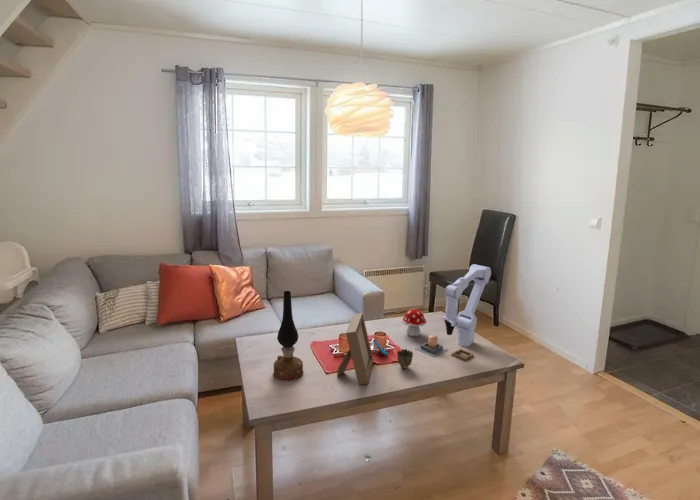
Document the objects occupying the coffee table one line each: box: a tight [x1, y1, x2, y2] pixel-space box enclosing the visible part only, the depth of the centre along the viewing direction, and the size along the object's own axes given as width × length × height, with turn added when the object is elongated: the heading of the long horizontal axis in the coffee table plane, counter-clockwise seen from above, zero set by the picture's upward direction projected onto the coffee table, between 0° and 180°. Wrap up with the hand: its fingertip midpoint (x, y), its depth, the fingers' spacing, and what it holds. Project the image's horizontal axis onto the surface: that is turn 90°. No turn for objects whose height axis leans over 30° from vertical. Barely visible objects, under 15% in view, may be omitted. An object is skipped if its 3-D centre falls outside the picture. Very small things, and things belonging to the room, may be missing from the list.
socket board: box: [414, 341, 449, 358], centre depth 216 cm, size 12×12×3 cm
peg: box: [427, 334, 438, 349], centre depth 216 cm, size 4×4×7 cm
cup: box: [396, 348, 414, 370], centre depth 198 cm, size 7×7×8 cm
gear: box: [372, 338, 388, 356], centre depth 213 cm, size 11×6×10 cm
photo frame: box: [336, 312, 374, 385], centre depth 192 cm, size 15×22×25 cm
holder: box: [449, 348, 476, 363], centre depth 210 cm, size 9×9×2 cm
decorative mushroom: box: [401, 308, 427, 338], centre depth 235 cm, size 14×14×15 cm
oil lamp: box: [272, 290, 304, 382], centre depth 187 cm, size 14×15×40 cm
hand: (449, 334), depth 212 cm, fingers closed
